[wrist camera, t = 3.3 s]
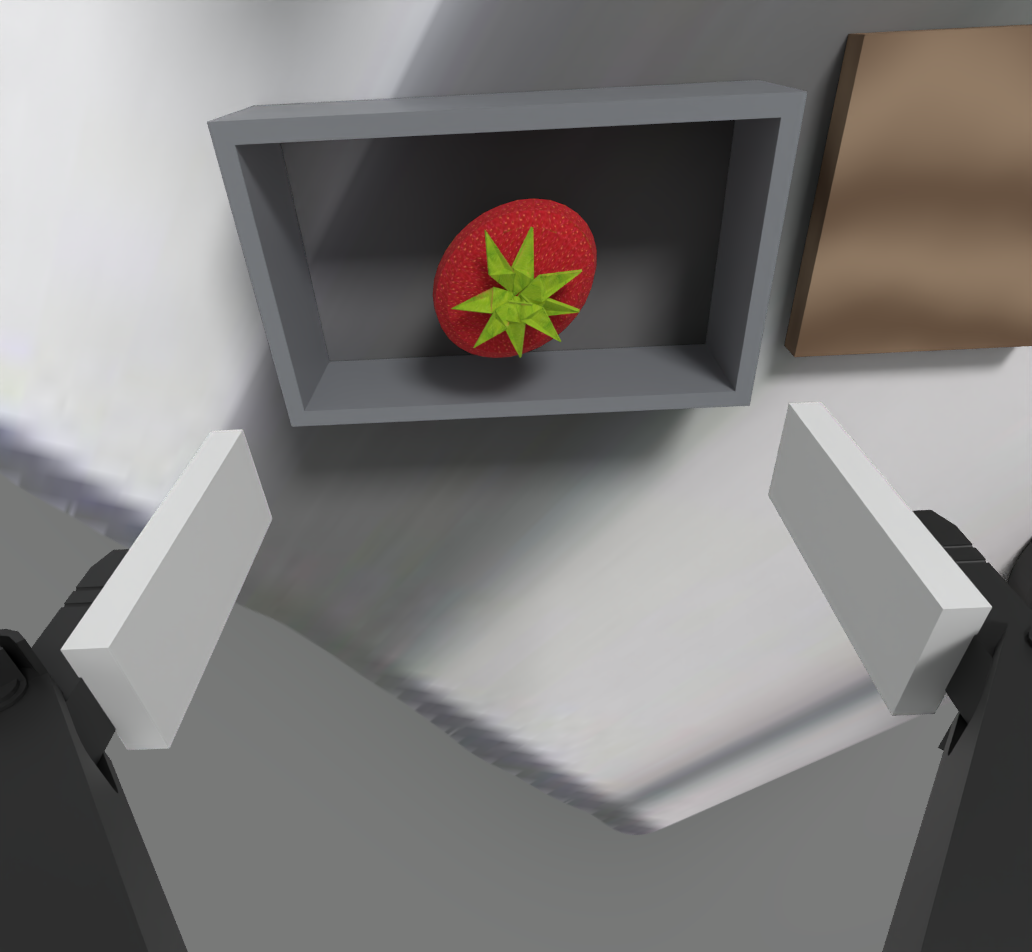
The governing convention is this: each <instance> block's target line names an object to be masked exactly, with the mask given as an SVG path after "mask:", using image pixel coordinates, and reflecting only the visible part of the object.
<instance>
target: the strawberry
mask: <svg viewBox="0 0 1032 952" xmlns="http://www.w3.org/2000/svg"><path fill="white" fill-rule="evenodd" d="M596 262H597V250H596V246H595V241H594V237H593V235H592V233H591V231H590V229H589V227H588V225H587V223H586V222H585V221H584V220H583V219H582V218H581V217H580V215H579V214H578V213H576V212H575V211H573V210H572V209H570V208H569V207H567V206H566V205H563V204H560V203H557V202H554V201H552V200H544V199H535V198H534V199H523V200H516V201H512V202H509V203H506V204H503V205H500V206H498V207H495V208H493V209H491V210H489V211H487V212H485V213H483V214H482V215H480V216H479V217H477V218H476V219H474V220H473V221H472V222H470V223H469V224H468V225H467V226H466V227H465V228H464V229H463V230H462V231H461V232H460V233H459V234H458V235H457V236H456V237H455V238H454V240H453V241H452V242H451V244H450V245H449V246H448V248H447V249H446V251H445V253H444V255H443V257H442V259H441V261H440V263H439V265H438V268H437V272H436V275H435V278H434V286H433V301H434V308H435V311H436V314H437V317H438V320H439V322H440V325H441V327H442V329H443V331H444V332H445V334H446V335H447V336H448V338H449V339H450V340H451V341H452V342H453V343H455V344H456V345H457V346H458V347H459V348H461V349H463V350H465V351H467V352H469V353H471V354H475V355H478V356H482V357H491V358H502V357H512V356H515V355H519V357H522V354H523V353H527V352H529V351H531V350H534V349H536V348H538V347H540V346H542V345H544V344H545V343H547V342H549V341H550V340H552V339H553V338H554V339H556V340H558V341H559V342H561V340H560V338H559V336H558V334H559V333H561V332H562V331H563V330H564V329H565V328H566V327H567V326H568V325H569V324H570V323H571V322H572V321H573V320H574V318H575V317H576V316H577V315H578V313H579V311H580V310H581V308H582V307H583V305H584V304H585V302H586V299H587V297H588V295H589V292H590V290H591V287H592V283H593V279H594V274H595V270H596Z"/></svg>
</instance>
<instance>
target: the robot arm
mask: <svg viewBox="0 0 1032 952" xmlns="http://www.w3.org/2000/svg"><path fill="white" fill-rule="evenodd" d="M768 496H769V497H770V499H771V501H772V503H773V505H774V506H775V508H776V510H777V512H778V513H779V515H780V517H781V519H782V521H783V522H784V524H785V526H786V528H787V529H788V531H789V533H790V535H791V537H792V538H793V540H794V542H795V544H796V546H797V547H798V549H799V551H800V553H801V554H802V556H803V558H804V560H805V562H806V563H807V565H808V567H809V569H810V570H811V572H812V574H813V576H814V578H815V579H816V581H817V583H818V585H819V586H820V588H821V590H822V592H823V594H824V595H825V597H826V599H827V601H828V602H829V604H830V606H831V608H832V610H833V611H834V613H835V615H836V617H837V618H838V620H839V622H840V624H841V626H842V627H843V629H844V631H845V633H846V634H847V636H848V638H849V640H850V642H851V643H852V645H853V647H854V649H855V651H856V652H857V654H858V656H859V658H860V659H861V661H862V663H863V665H864V667H865V668H866V670H867V672H868V674H869V675H870V677H871V679H872V681H873V683H874V684H875V686H876V688H877V690H878V691H879V693H880V695H881V697H882V699H883V700H884V702H885V704H886V706H887V707H888V709H889V711H890V713H891V715H892V716H896V715H918V714H934V713H935V712H936V710H937V708H938V706H939V705H940V703H941V701H942V699H943V697H944V695H945V694H946V693H947V694H948V696H949V697H950V699H951V700H952V702H953V703H954V705H955V706H956V708H957V709H958V711H959V712H958V714H957V715H956V717H955V719H954V721H953V722H952V724H951V726H950V728H949V729H948V731H947V733H946V735H945V737H944V738H943V740H942V742H941V743H940V745H939V747H938V748H940V749H942V750H944V752H943V755H942V758H941V762H940V765H939V768H938V771H937V775H936V778H935V781H934V784H933V788H932V791H931V794H930V797H929V801H928V804H927V807H926V811H925V814H924V817H923V820H922V824H921V827H920V830H919V834H918V837H917V840H916V843H915V847H914V850H913V853H912V856H911V860H910V863H909V866H908V870H907V873H906V876H905V879H904V882H903V886H902V889H901V892H900V896H899V899H898V903H897V906H896V909H895V912H894V915H893V919H892V922H891V925H890V929H889V932H888V935H887V938H886V941H885V945H884V948H883V951H882V952H1032V542H1031V543H1030V544H1029V545H1028V546H1027V547H1026V549H1025V550H1024V551H1023V553H1022V554H1021V555H1020V557H1019V558H1018V560H1017V562H1016V564H1015V565H1014V567H1013V569H1012V572H1011V574H1010V577H1009V581H1008V583H1007V582H1006V581H1005V580H1004V579H1003V578H1002V577H1001V576H1000V575H999V573H998V572H997V571H996V570H995V569H994V568H993V567H992V566H991V564H990V563H986V561H985V560H986V559H985V558H984V557H983V556H982V554H981V553H980V552H979V551H978V550H977V549H976V548H973V547H972V543H971V542H970V541H969V540H968V539H967V538H966V537H965V535H964V534H963V533H962V532H961V531H960V530H959V529H958V528H957V526H956V525H954V524H952V523H951V522H949V521H948V520H946V519H945V518H943V517H941V516H940V515H938V514H937V513H935V512H934V511H932V510H920V511H912V510H911V509H910V508H909V507H908V505H907V504H906V503H905V502H904V501H903V499H902V498H901V497H900V496H899V495H898V493H897V492H896V491H895V490H894V489H893V487H892V486H891V485H890V484H889V483H888V481H887V480H886V479H885V478H884V477H883V475H882V474H881V473H880V472H879V471H878V469H877V468H876V467H875V466H874V465H873V463H872V462H871V461H870V460H869V459H868V457H867V456H866V455H865V454H864V453H863V451H862V450H861V449H860V448H859V447H858V445H857V444H856V443H855V442H854V441H853V439H852V438H851V437H850V436H849V435H848V433H847V432H846V431H845V430H844V429H843V427H842V426H841V425H840V424H839V423H838V421H837V420H836V419H835V418H834V417H833V415H832V414H831V413H830V412H829V411H828V409H827V408H826V407H825V406H824V405H823V403H822V402H804V403H789V405H788V410H787V414H786V419H785V423H784V428H783V432H782V436H781V441H780V445H779V450H778V454H777V459H776V463H775V467H774V472H773V476H772V481H771V485H770V490H769V494H768ZM271 521H272V516H271V513H270V510H269V507H268V504H267V501H266V498H265V495H264V492H263V489H262V486H261V483H260V480H259V477H258V474H257V471H256V468H255V465H254V462H253V459H252V456H251V453H250V450H249V447H248V444H247V440H246V437H245V434H244V431H243V430H222V431H211V432H210V433H209V435H208V436H207V438H206V439H205V441H204V442H203V444H202V445H201V447H200V448H199V449H198V451H197V452H196V454H195V455H194V457H193V458H192V460H191V461H190V462H189V464H188V465H187V467H186V468H185V470H184V471H183V473H182V474H181V476H180V477H179V478H178V480H177V481H176V483H175V484H174V486H173V487H172V489H171V490H170V491H169V493H168V494H167V496H166V497H165V499H164V500H163V502H162V503H161V505H160V506H159V507H158V509H157V510H156V512H155V513H154V515H153V516H152V518H151V519H150V520H149V522H148V523H147V525H146V526H145V528H144V529H143V531H142V532H141V534H140V535H139V536H138V538H137V539H136V541H135V542H134V544H133V545H132V547H131V548H130V549H124V550H113V551H111V552H110V553H109V554H108V555H106V556H105V557H104V558H103V559H101V560H100V561H99V562H97V563H96V564H95V565H93V566H92V567H91V568H90V569H89V571H88V572H87V573H86V575H85V576H84V577H83V579H82V580H81V581H80V583H79V584H78V585H77V587H76V591H73V592H72V594H71V595H70V596H69V598H68V599H67V600H66V602H65V603H64V604H65V606H64V607H63V608H61V609H60V610H59V611H58V613H57V614H56V615H55V617H54V618H53V619H52V621H51V622H50V624H49V625H48V626H47V628H46V629H45V630H44V632H43V633H42V634H41V636H40V637H39V638H38V640H37V641H36V642H35V644H34V645H33V647H32V648H31V647H30V646H29V644H28V643H27V641H26V640H25V639H24V638H23V636H22V635H21V634H20V633H19V632H17V631H12V630H8V629H2V630H0V952H187V949H186V946H185V944H184V941H183V939H182V936H181V934H180V931H179V929H178V926H177V924H176V921H175V919H174V916H173V914H172V911H171V909H170V906H169V904H168V901H167V899H166V896H165V894H164V891H163V889H162V886H161V884H160V881H159V879H158V876H157V874H156V871H155V869H154V866H153V864H152V862H151V859H150V856H149V854H148V851H147V849H146V847H145V844H144V842H143V839H142V837H141V834H140V832H139V829H138V827H137V824H136V822H135V819H134V817H133V814H132V812H131V809H130V807H129V804H128V802H127V799H126V797H125V794H124V792H123V789H122V787H121V784H120V782H119V779H118V777H117V774H116V772H115V769H114V767H113V765H112V762H111V760H110V758H109V757H108V756H107V754H106V753H105V749H106V747H107V745H108V743H109V741H110V739H111V738H112V736H113V734H114V732H116V734H117V735H118V737H119V738H120V739H121V741H122V742H123V744H124V745H125V747H126V748H127V750H138V749H139V750H140V749H163V748H170V746H171V744H172V741H173V739H174V737H175V735H176V732H177V730H178V728H179V726H180V724H181V721H182V719H183V716H184V715H185V712H186V710H187V708H188V706H189V703H190V701H191V699H192V697H193V695H194V692H195V690H196V688H197V686H198V683H199V681H200V679H201V677H202V674H203V672H204V670H205V668H206V665H207V663H208V661H209V659H210V657H211V654H212V652H213V650H214V648H215V646H216V643H217V641H218V639H219V636H220V634H221V632H222V630H223V627H224V625H225V623H226V621H227V619H228V617H229V614H230V612H231V610H232V608H233V605H234V603H235V601H236V599H237V596H238V594H239V592H240V590H241V588H242V585H243V583H244V581H245V579H246V576H247V574H248V572H249V570H250V567H251V565H252V563H253V561H254V558H255V556H256V554H257V552H258V550H259V547H260V545H261V543H262V541H263V538H264V536H265V534H266V532H267V529H268V527H269V525H270V523H271Z"/></svg>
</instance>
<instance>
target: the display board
mask: <svg viewBox="0 0 1032 952" xmlns="http://www.w3.org/2000/svg"><path fill="white" fill-rule="evenodd" d="M1019 346H1032V24H1030V25H1011V26H991V27H972V28H953V29H933V30H914V31H895V32H875V33H856V34H848V39H847V44H846V49H845V54H844V59H843V63H842V68H841V73H840V78H839V83H838V88H837V93H836V97H835V102H834V107H833V112H832V117H831V122H830V126H829V131H828V136H827V141H826V146H825V151H824V156H823V160H822V165H821V170H820V175H819V180H818V185H817V189H816V194H815V199H814V204H813V209H812V214H811V219H810V223H809V228H808V233H807V238H806V243H805V248H804V252H803V257H802V262H801V267H800V272H799V277H798V282H797V286H796V291H795V296H794V301H793V306H792V311H791V315H790V320H789V325H788V330H787V335H786V340H785V347H786V348H787V349H788V350H789V351H790V352H791V354H792V355H793V356H794V357H806V356H827V355H848V354H870V353H891V352H912V351H934V350H955V349H977V348H998V347H1019Z"/></svg>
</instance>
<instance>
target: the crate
mask: <svg viewBox="0 0 1032 952" xmlns="http://www.w3.org/2000/svg"><path fill="white" fill-rule="evenodd" d="M806 97H807V91H804V90H800V89H795V88H791V87H787V86H783V85H778V84H774V83H770V82H766V81H762V80H746V81H727V82H707V83H688V84H668V85H649V86H629V87H609V88H590V89H570V90H551V91H531V92H512V93H492V94H473V95H453V96H433V97H414V98H394V99H375V100H355V101H336V102H316V103H297V104H277V105H257V106H251V107H248V108H246V109H243V110H240V111H237V112H234V113H231V114H228V115H225V116H223V117H220V118H217V119H214V120H211V121H208V122H207V124H208V128H209V131H210V135H211V138H212V142H213V146H214V149H215V153H216V156H217V160H218V164H219V167H220V171H221V174H222V178H223V181H224V185H225V189H226V192H227V196H228V199H229V203H230V207H231V210H232V214H233V217H234V221H235V225H236V228H237V232H238V235H239V239H240V243H241V246H242V250H243V253H244V257H245V261H246V264H247V268H248V271H249V275H250V279H251V282H252V286H253V289H254V293H255V297H256V300H257V304H258V307H259V311H260V315H261V318H262V322H263V325H264V329H265V333H266V336H267V340H268V343H269V347H270V351H271V354H272V358H273V361H274V365H275V369H276V372H277V376H278V379H279V383H280V387H281V390H282V394H283V397H284V401H285V405H286V408H287V412H288V415H289V419H290V422H291V426H292V427H295V426H317V425H338V424H360V423H382V422H403V421H425V420H447V419H469V418H490V417H512V416H534V415H555V414H577V413H599V412H620V411H642V410H664V409H686V408H707V407H729V406H750V401H751V395H752V390H753V384H754V379H755V374H756V368H757V363H758V357H759V352H760V346H761V341H762V336H763V330H764V325H765V319H766V314H767V308H768V303H769V298H770V292H771V287H772V281H773V276H774V270H775V265H776V260H777V254H778V249H779V243H780V238H781V232H782V227H783V222H784V216H785V211H786V205H787V200H788V194H789V189H790V184H791V178H792V173H793V167H794V162H795V156H796V151H797V146H798V140H799V135H800V129H801V124H802V118H803V113H804V108H805V102H806ZM719 120H735V125H734V133H733V140H732V148H731V155H730V163H729V170H728V178H727V185H726V193H725V201H724V208H723V216H722V223H721V231H720V238H719V246H718V254H717V261H716V269H715V276H714V284H713V291H712V299H711V307H710V314H709V322H708V329H707V337H706V344H692V345H671V346H650V347H628V348H607V349H586V350H565V351H543V352H527V353H523V354H522V357H519V355H515V356H512V357H502V358H491V357H482V356H478V355H458V356H437V357H416V358H395V359H373V360H352V361H331V362H329V357H328V353H327V348H326V344H325V339H324V335H323V330H322V326H321V322H320V317H319V313H318V308H317V304H316V299H315V295H314V290H313V286H312V282H311V277H310V273H309V268H308V264H307V259H306V255H305V250H304V246H303V241H302V237H301V233H300V228H299V224H298V219H297V215H296V210H295V206H294V201H293V197H292V192H291V188H290V184H289V179H288V175H287V170H286V166H285V161H284V157H283V152H282V148H281V144H280V143H284V142H304V141H324V140H343V139H363V138H383V137H403V136H423V135H442V134H462V133H482V132H502V131H521V130H541V129H561V128H581V127H601V126H620V125H640V124H660V123H680V122H700V121H719Z"/></svg>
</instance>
